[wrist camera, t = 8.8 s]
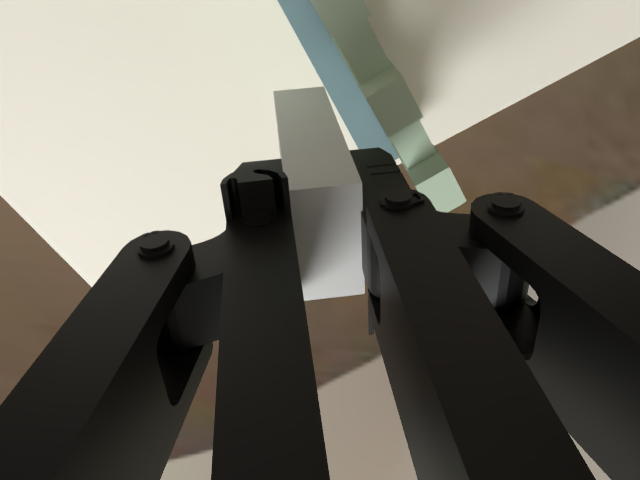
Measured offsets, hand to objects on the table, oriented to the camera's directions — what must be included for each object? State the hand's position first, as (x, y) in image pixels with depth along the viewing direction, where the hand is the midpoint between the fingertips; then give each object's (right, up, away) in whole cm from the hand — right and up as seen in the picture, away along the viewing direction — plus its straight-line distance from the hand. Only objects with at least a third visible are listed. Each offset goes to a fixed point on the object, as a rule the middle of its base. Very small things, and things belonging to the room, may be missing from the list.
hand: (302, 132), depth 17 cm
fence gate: (+1, +5, +2) cm, 5 cm away
